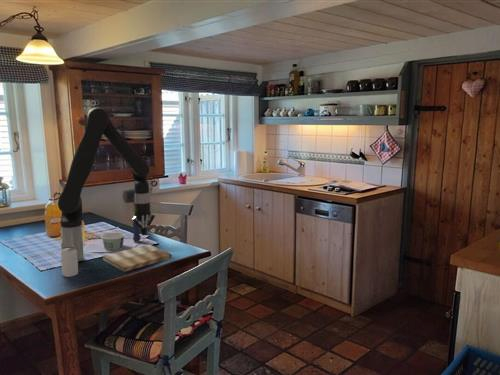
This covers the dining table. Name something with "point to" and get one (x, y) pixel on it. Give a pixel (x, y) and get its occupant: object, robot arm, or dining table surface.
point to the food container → (113, 240)
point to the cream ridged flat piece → (129, 253)
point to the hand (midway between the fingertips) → (143, 234)
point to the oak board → (142, 260)
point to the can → (69, 261)
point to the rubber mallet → (129, 198)
